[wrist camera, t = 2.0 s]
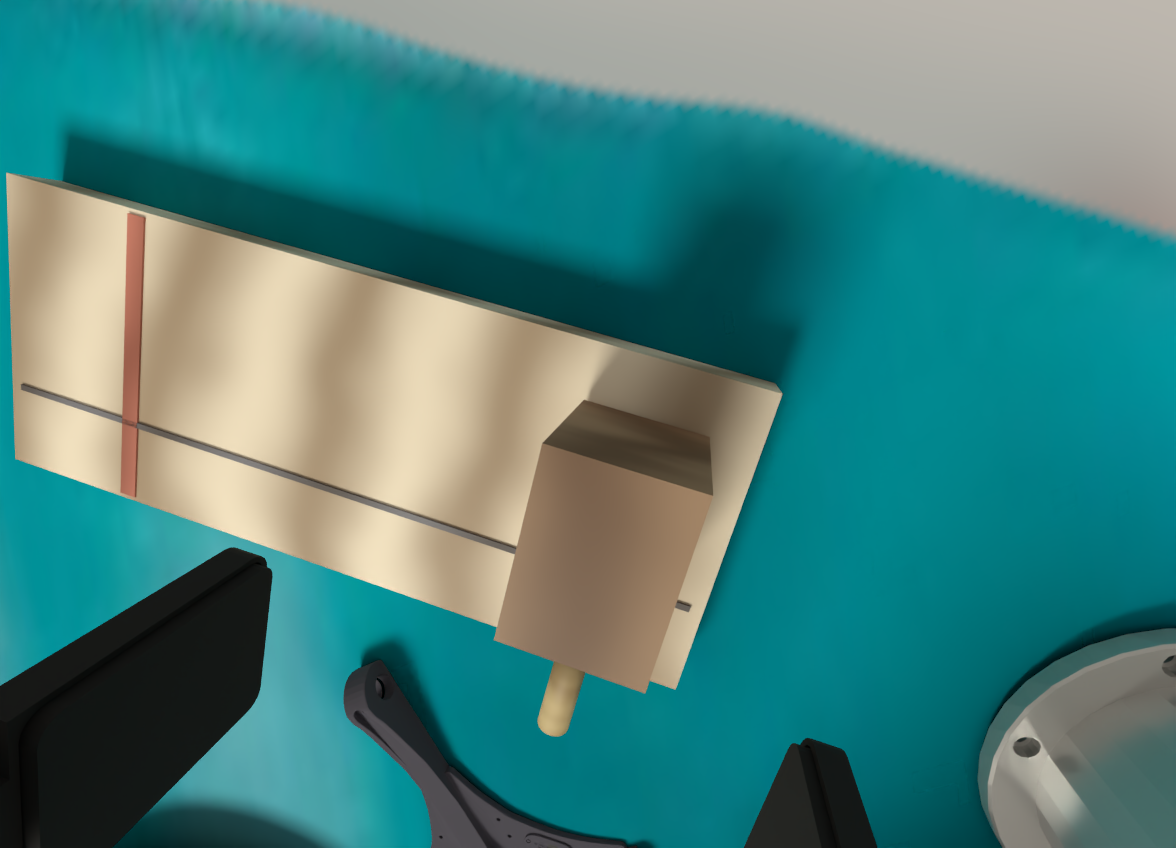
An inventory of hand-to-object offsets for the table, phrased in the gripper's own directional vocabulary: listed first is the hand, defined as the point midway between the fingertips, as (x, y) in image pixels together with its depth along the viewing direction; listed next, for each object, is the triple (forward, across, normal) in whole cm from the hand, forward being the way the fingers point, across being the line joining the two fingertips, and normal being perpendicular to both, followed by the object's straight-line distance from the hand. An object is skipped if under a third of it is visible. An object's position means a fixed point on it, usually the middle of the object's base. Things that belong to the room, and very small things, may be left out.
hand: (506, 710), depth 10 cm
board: (+14, +10, +1) cm, 17 cm away
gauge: (+11, -1, +2) cm, 11 cm away
